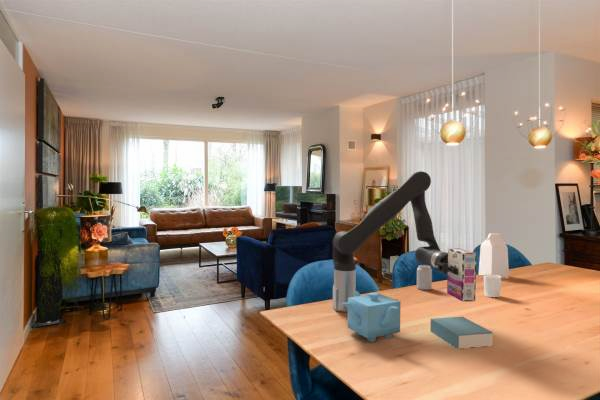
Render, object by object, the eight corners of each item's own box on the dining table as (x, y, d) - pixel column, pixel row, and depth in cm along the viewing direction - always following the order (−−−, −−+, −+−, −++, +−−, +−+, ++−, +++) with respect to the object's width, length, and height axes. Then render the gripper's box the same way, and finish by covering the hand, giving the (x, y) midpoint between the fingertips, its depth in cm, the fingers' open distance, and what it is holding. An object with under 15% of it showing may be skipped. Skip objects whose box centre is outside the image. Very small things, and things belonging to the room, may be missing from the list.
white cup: (483, 297, 188) (484, 276, 187) (482, 293, 195) (483, 273, 195) (501, 299, 185) (502, 278, 184) (500, 295, 192) (500, 274, 192)
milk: (491, 278, 228) (492, 234, 227) (478, 274, 239) (479, 232, 238) (509, 278, 230) (509, 234, 230) (495, 274, 241) (496, 232, 241)
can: (432, 291, 199) (432, 267, 199) (417, 290, 200) (417, 267, 200) (430, 287, 206) (431, 265, 206) (416, 286, 208) (416, 264, 207)
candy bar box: (476, 301, 130) (477, 252, 129) (462, 302, 129) (463, 253, 129) (459, 292, 141) (460, 247, 140) (446, 293, 140) (447, 247, 140)
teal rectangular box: (457, 350, 125) (457, 334, 125) (430, 332, 141) (430, 318, 141) (493, 347, 128) (493, 332, 128) (462, 329, 144) (463, 316, 144)
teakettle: (401, 329, 143) (401, 289, 143) (398, 348, 125) (398, 303, 125) (350, 323, 149) (350, 285, 149) (340, 341, 131) (341, 298, 131)
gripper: (426, 252, 148) (444, 260, 131) (462, 252, 149) (486, 260, 132) (425, 271, 149) (444, 282, 132) (462, 271, 149) (485, 282, 132)
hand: (465, 271), depth 132 cm, fingers closed on candy bar box, 5 cm apart
